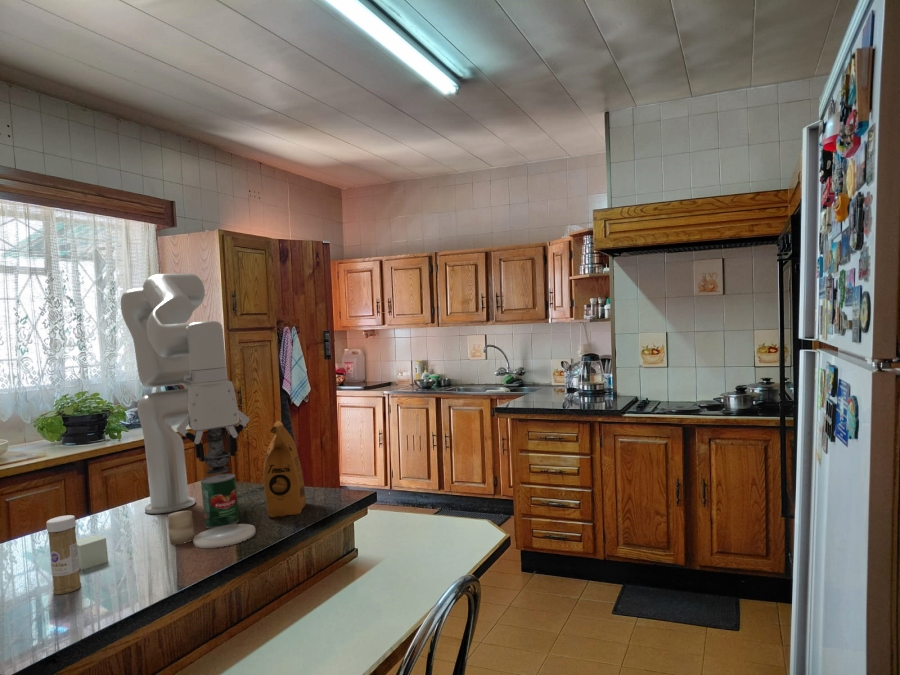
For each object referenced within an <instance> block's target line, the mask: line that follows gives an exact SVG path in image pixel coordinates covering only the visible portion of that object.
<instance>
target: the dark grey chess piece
mask: <svg viewBox="0 0 900 675" xmlns="http://www.w3.org/2000/svg"><path fill="white" fill-rule="evenodd" d="M222 433H223V432H222V428H217V429H211V430H207V438H206V441H207V442H208V452H207V454H206V455H204V458H205V461H204V463H205V465H206V466H208V467H209V468H210V469H208V470H207V471H205V474H206V475H219V474H224V473H226V472H229V471H231V470H232V467H230V466H225V465H228V463H229V461H230V459H231V458H230V457H231V453H230V452H229V451H226V450H225V447H224V438H225V437H224V435H223V434H222Z"/></svg>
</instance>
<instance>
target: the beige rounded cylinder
mask: <svg viewBox="0 0 900 675" xmlns="http://www.w3.org/2000/svg"><path fill="white" fill-rule="evenodd" d="M167 521H168V522H167V523H168V534H169V543H171V545H174V544H177V545H181V544H180V543H183V544H185V543H184V542H187V543H189V542H188V541H190V540H192V539H193V538H194V537H195V529H194V519H193V512H192V510H178V511H174V512H171V513H170V514H168V515H167ZM192 541H193V540H192ZM190 542H191V541H190Z"/></svg>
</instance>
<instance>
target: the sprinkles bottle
mask: <svg viewBox="0 0 900 675" xmlns="http://www.w3.org/2000/svg"><path fill="white" fill-rule="evenodd" d="M76 525H77V524H76V517H75V515H71V514H69V515H68V514H67V515H60V516H56V517H54V518H49V519H48V520H47V521H46V532H47V535H48V541H49V552H50V569H51V576H52V586H53V590H52V593H54V594H55V595H63V594H65V595H66V594H69V593H72V592H74V591H76V590H78V589H79V588H81V587H82V583H81V575H80V569H79V559H78V550H77V541H76V540H77V536H76Z"/></svg>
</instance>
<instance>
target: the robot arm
mask: <svg viewBox="0 0 900 675" xmlns="http://www.w3.org/2000/svg"><path fill="white" fill-rule="evenodd" d="M205 291H206V290H205V284H204V283H203V280H202V279H201V278H200V277H199V276H198V275H196V274H193V273H190V272H189V273H158V274H154V275H151V276H148V277H147V279H146V280H145V281H144V283H143V285H142V287H137V288H131V289H128V290H126V291H125V292H124V293H122V295H121V298H120V310H121V314H122V319H123V321H124V323H125V325H126V327H127V330H128V331H129V332H130V335H131V337H132V341H133V345H134V347H133V348H134V355H135V359H136V367H137V373H138V378H139V381H140V383H141V384H142V386H144V387H146V388H162V387H171V386H179V385H182V386H183V388H181V389H171V390H165V391H164V390H163V391H155V392H151V393H148V394H145V395H143V396H142V397H141V398H139V400H138V402H137V407H136V408H137V414H138V418H139V422H140V426H141V429H142V436H143V440H144V448H145V449H144V450H145V459H146V460H145V461H146V468H147V477H148V478H147V480H148V487H149V488H148V489H149V499H150V503H149V504H147V505H146V506H144V512H145V513H147V514H151V515H152V514H153V515H155V514H165V513H174V512H178V511H182V510H185V509H187V508H190V507H192V506H193V505H195V503H196V498H195V497H193V496H190V495H189V488H188V486H189V485H188V479H187V478H188V476H187V467H186V466H187V465H186V457H185V456H186V454H185V447H184V446H185V445H184V441H183V438H182V436H181V435H183V437H185V438H186V439H188V440H189V441H191V442H192V443H193V445H194V454H195V458H196V459H198V460H199V462H201V463H203V462H204V463H205V458H204V456H205V452H204V451H205V450H204V444H203V443H202V437H203V433H204V431H208V430H211V429H217V428H221V429H223V428H225V429H226V431H227V432H228V438H227V446H228V452H230V453H231V455H230V457H236V452H238V443H237V442H238V441H237V437H238V436H239V434H240V433H241V432H242V430H243V429H244V428H245V426H246V425H247V424H248V423H249V422H250V417H249V416H247V415H246V414H245V413H243V411H241V410H240V409H239V408H238V402H237V397H236V392H235V388H234V384H233V381H230V380H229V379H228V371H227V362H226V349H225V340H224V330H223V325H222V324H221V322H220V321H216V320H207V321H196V322H188V321H189V320H191V319H190V318H191V317H192V315H193V313H194V311H196V309H198V308H199V307H200V306H201V305H202V303H203V302H204V298H205V296H206V294H205V293H206V292H205ZM177 425H178V426H177ZM173 426H177V427H176V431H175V430H174V429H173V428H172V427H173ZM187 427H189V429H192V431H193V430H194V433H191V432H190V431H188V430H187Z"/></svg>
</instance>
